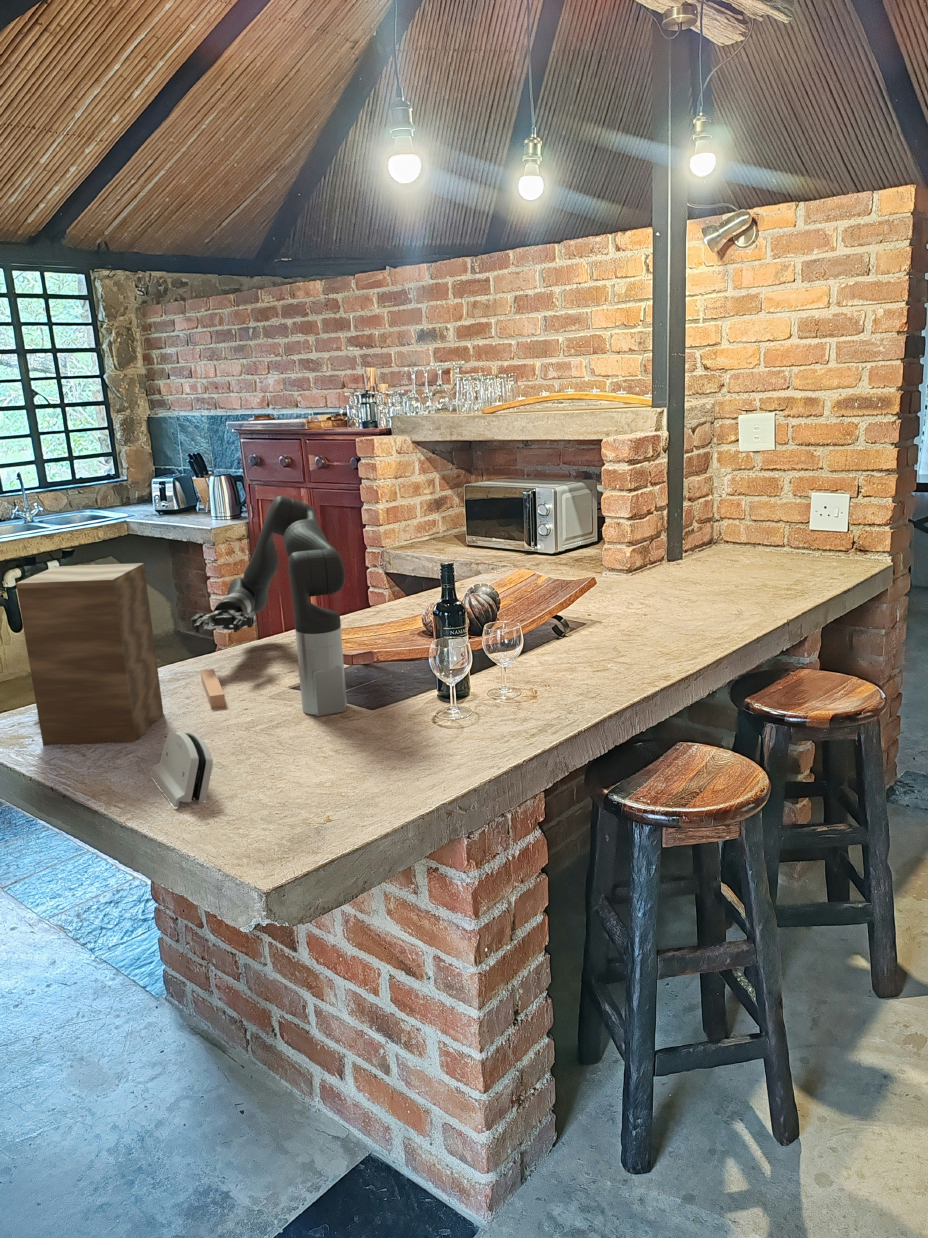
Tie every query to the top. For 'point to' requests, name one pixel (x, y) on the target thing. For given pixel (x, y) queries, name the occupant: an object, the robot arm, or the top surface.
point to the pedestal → (91, 653)
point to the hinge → (184, 768)
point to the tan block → (212, 688)
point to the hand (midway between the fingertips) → (216, 628)
